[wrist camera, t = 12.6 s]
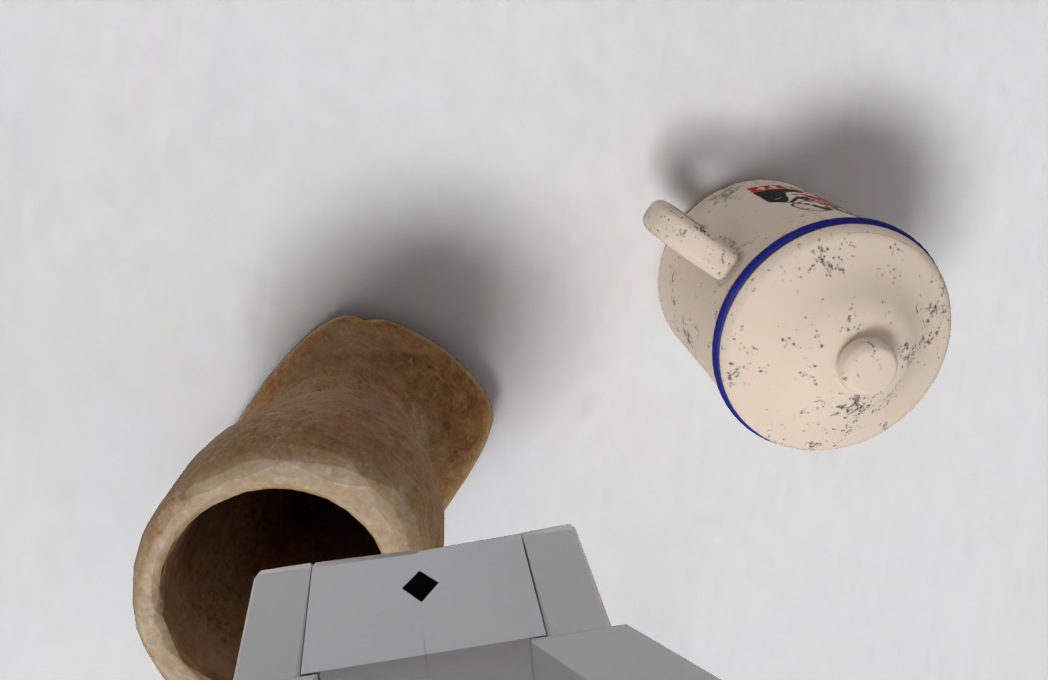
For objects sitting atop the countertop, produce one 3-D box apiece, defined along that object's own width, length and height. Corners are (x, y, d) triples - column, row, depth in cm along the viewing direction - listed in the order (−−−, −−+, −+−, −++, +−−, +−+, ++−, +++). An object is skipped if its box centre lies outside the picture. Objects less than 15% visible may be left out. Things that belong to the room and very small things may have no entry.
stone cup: (298, 245, 39) (254, 391, 25) (522, 390, 43) (592, 586, 29) (111, 512, 42) (-20, 773, 28) (336, 625, 46) (319, 904, 32)
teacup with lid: (883, 241, 43) (1052, 329, 32) (761, 398, 45) (881, 530, 34) (681, 92, 39) (797, 136, 28) (558, 271, 41) (622, 374, 30)
